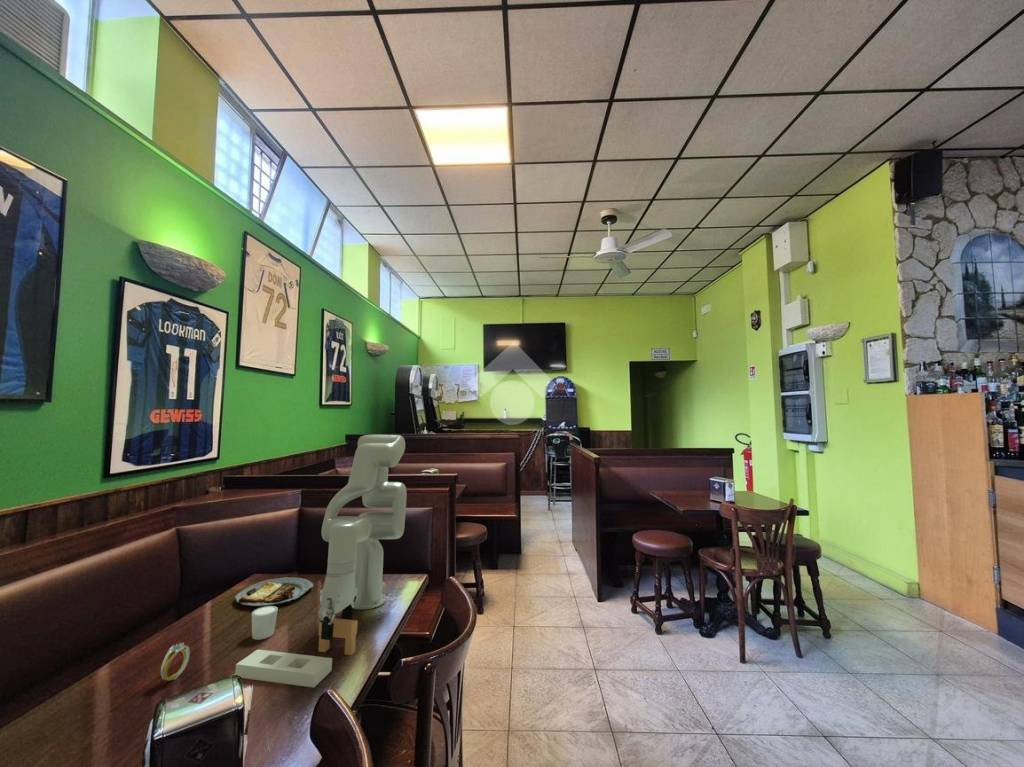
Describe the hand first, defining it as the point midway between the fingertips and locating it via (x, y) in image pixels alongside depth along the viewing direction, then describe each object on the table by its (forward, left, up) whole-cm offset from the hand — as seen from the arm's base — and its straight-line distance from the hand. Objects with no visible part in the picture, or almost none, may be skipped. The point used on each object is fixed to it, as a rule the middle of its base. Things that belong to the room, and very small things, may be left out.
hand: (337, 630), depth 114 cm
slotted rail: (+12, -7, -6) cm, 15 cm away
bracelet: (+19, -32, -6) cm, 38 cm away
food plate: (-30, -45, -6) cm, 54 cm away
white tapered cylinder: (-4, -27, -6) cm, 28 cm away
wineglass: (-10, -9, -6) cm, 15 cm away
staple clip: (0, 0, -6) cm, 6 cm away
